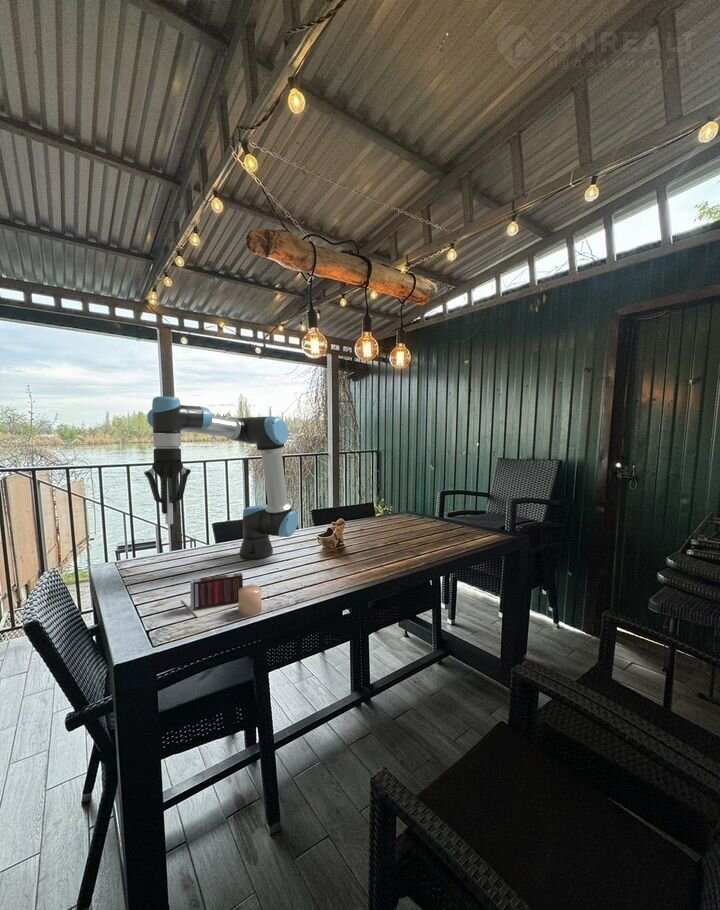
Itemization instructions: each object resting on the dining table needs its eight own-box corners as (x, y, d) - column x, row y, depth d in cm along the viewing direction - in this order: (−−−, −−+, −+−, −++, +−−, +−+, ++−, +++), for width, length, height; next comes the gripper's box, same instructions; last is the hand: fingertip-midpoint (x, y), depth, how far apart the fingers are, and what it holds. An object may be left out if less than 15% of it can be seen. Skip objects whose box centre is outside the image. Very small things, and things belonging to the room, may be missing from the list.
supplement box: (190, 605, 120) (241, 597, 126) (190, 610, 115) (243, 601, 122) (190, 578, 120) (241, 572, 127) (190, 582, 116) (243, 575, 122)
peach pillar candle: (255, 604, 122) (255, 583, 121) (265, 611, 117) (265, 590, 116) (234, 610, 117) (234, 589, 117) (244, 618, 112) (244, 596, 112)
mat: (231, 587, 135) (231, 586, 135) (250, 601, 123) (250, 600, 123) (181, 600, 124) (181, 599, 124) (197, 618, 112) (197, 616, 112)
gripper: (185, 446, 120) (187, 518, 121) (140, 447, 111) (142, 524, 113) (193, 447, 115) (195, 522, 116) (146, 448, 106) (148, 529, 107)
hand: (169, 523), depth 114 cm, fingers closed
